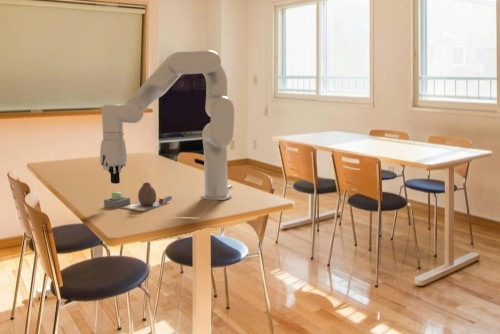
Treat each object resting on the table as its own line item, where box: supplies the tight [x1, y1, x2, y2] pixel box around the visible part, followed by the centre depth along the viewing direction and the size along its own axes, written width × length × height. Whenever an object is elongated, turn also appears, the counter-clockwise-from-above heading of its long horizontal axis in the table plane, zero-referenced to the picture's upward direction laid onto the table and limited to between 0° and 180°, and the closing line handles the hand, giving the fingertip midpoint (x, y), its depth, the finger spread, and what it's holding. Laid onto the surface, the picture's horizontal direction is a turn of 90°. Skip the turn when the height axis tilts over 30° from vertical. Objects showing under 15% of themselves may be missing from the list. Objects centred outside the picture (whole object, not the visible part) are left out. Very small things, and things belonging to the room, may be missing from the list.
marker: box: [158, 195, 173, 203], centre depth 202 cm, size 10×2×2 cm, turn 169°
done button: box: [111, 191, 123, 201], centre depth 196 cm, size 4×4×4 cm
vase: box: [137, 182, 157, 206], centre depth 194 cm, size 7×7×9 cm
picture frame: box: [118, 200, 169, 213], centre depth 195 cm, size 15×12×1 cm
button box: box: [103, 196, 131, 209], centre depth 197 cm, size 7×7×3 cm
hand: (115, 182), depth 195 cm, fingers closed
